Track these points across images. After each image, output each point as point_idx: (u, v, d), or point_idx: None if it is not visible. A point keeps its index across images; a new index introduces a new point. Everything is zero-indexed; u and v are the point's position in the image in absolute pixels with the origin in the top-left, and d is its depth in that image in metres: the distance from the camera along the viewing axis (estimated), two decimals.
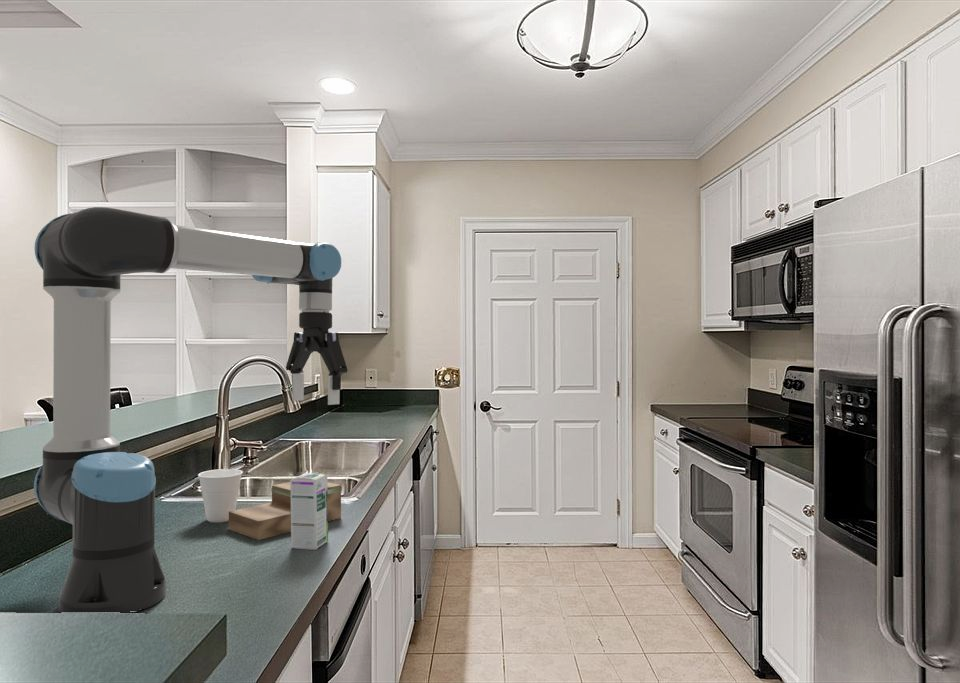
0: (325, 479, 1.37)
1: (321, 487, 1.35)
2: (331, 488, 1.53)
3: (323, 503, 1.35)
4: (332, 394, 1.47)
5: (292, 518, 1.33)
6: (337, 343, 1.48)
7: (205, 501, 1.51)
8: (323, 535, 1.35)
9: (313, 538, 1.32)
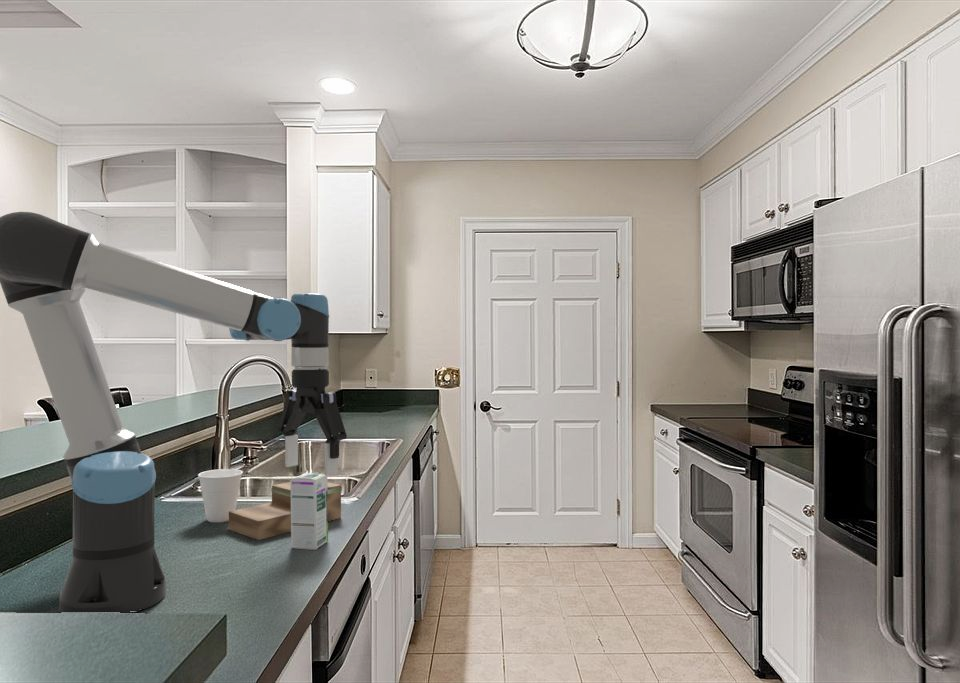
0: (325, 479, 1.37)
1: (321, 487, 1.35)
2: (331, 488, 1.53)
3: (323, 503, 1.35)
4: (330, 463, 1.30)
5: (292, 518, 1.33)
6: (335, 405, 1.31)
7: (205, 501, 1.51)
8: (323, 535, 1.35)
9: (313, 538, 1.32)
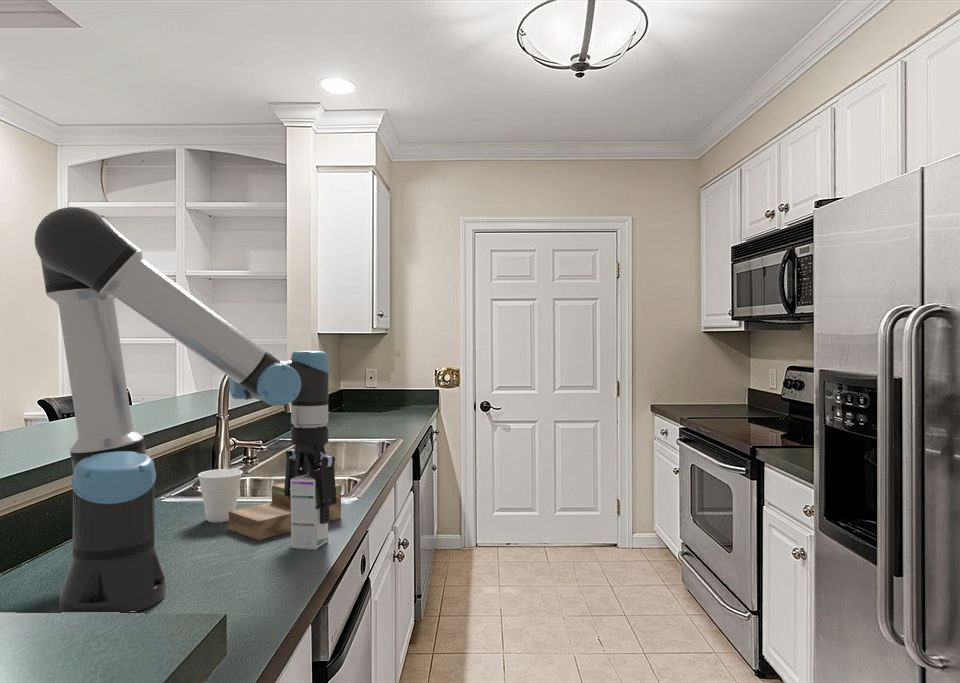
0: None
1: None
2: None
3: None
4: (320, 528, 1.32)
5: (292, 518, 1.33)
6: (332, 469, 1.32)
7: (205, 501, 1.51)
8: None
9: (313, 538, 1.32)
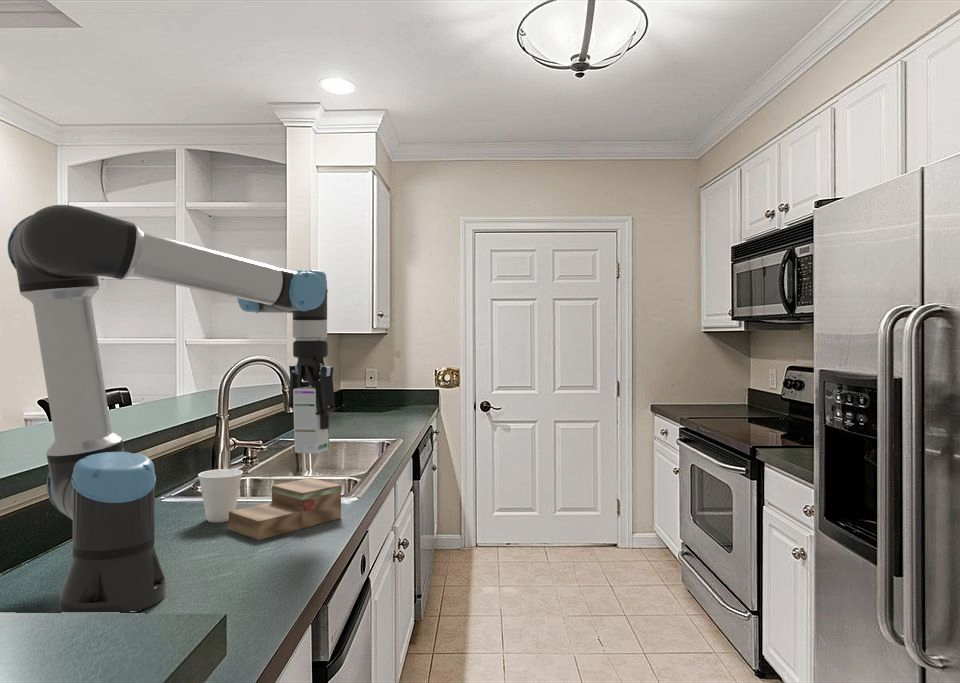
0: None
1: None
2: (331, 488, 1.53)
3: None
4: (320, 433, 1.42)
5: (295, 425, 1.44)
6: (330, 379, 1.42)
7: (205, 501, 1.51)
8: None
9: (314, 443, 1.43)
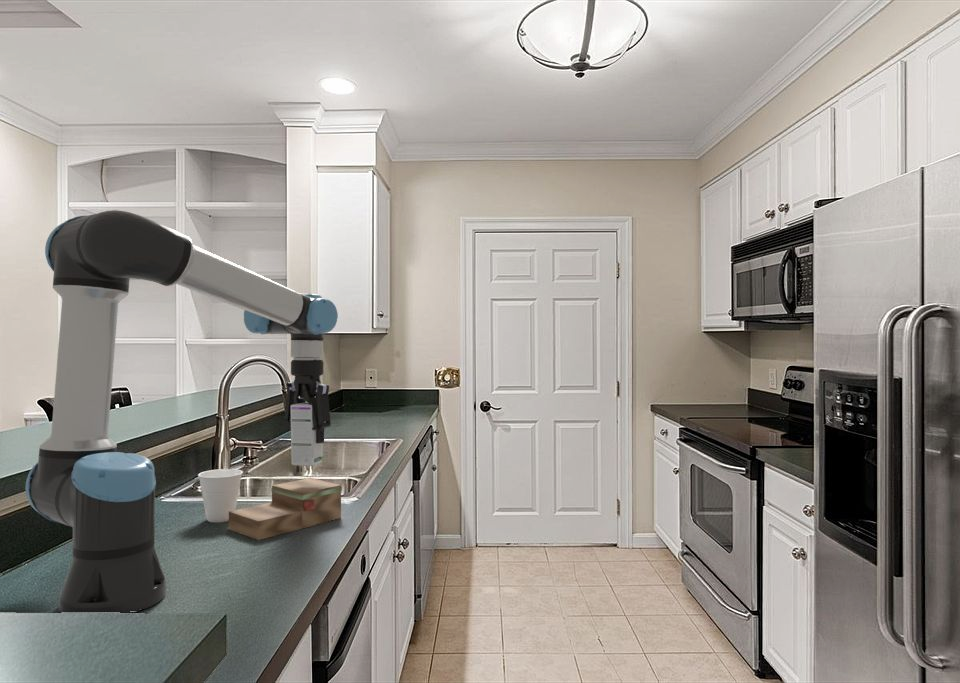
0: None
1: None
2: (331, 488, 1.53)
3: None
4: (316, 447, 1.52)
5: (292, 439, 1.53)
6: (326, 396, 1.51)
7: (205, 501, 1.51)
8: None
9: (310, 456, 1.52)
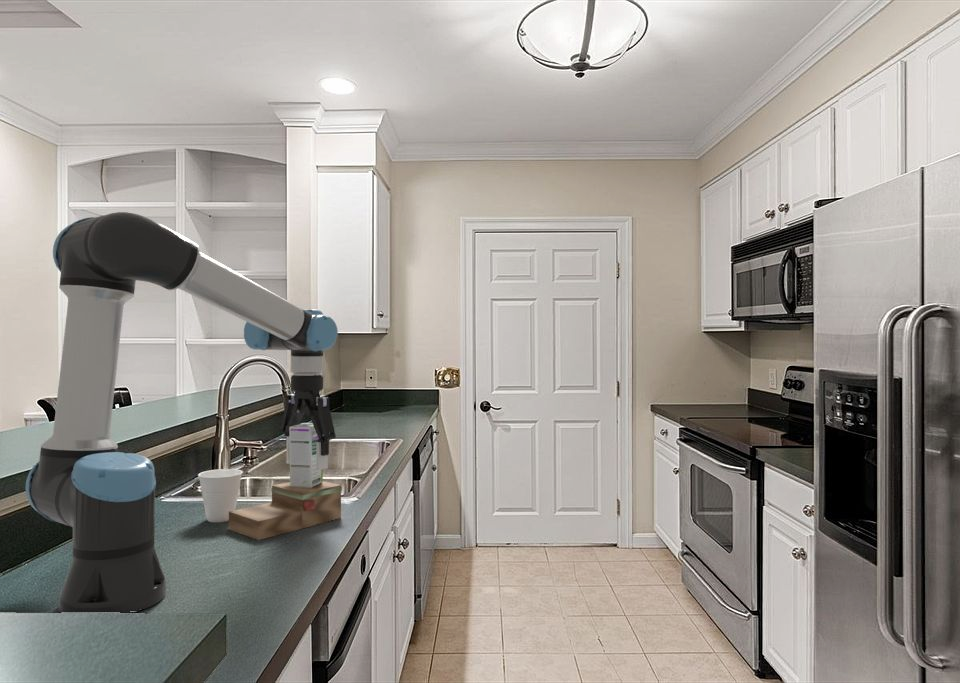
0: None
1: (316, 434, 1.54)
2: (331, 488, 1.53)
3: None
4: (320, 459, 1.50)
5: (291, 460, 1.53)
6: (327, 408, 1.51)
7: (205, 501, 1.51)
8: (318, 476, 1.55)
9: (309, 477, 1.52)
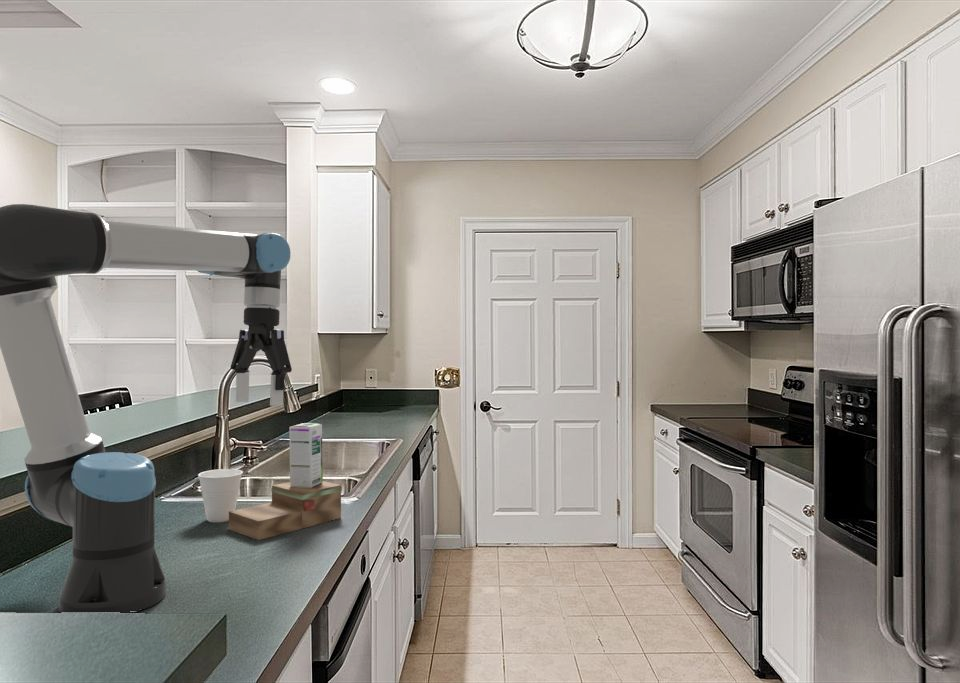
0: (320, 428, 1.56)
1: (316, 434, 1.54)
2: (331, 488, 1.53)
3: (317, 448, 1.55)
4: (275, 395, 1.39)
5: (291, 460, 1.53)
6: (282, 341, 1.40)
7: (205, 501, 1.51)
8: (318, 476, 1.55)
9: (309, 477, 1.52)
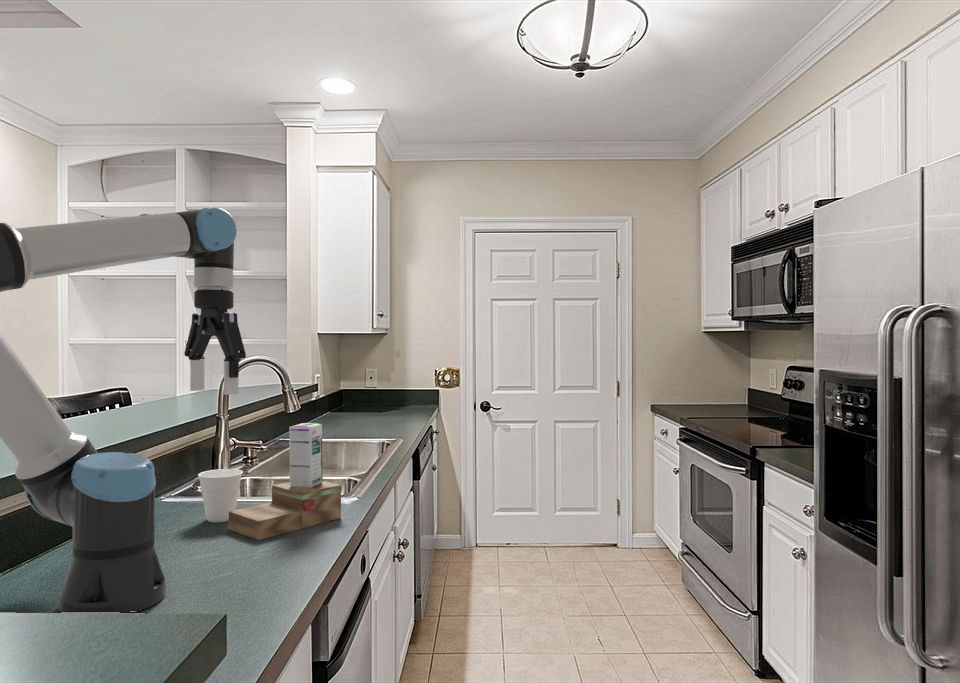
0: (320, 428, 1.56)
1: (316, 434, 1.54)
2: (331, 488, 1.53)
3: (317, 448, 1.55)
4: (229, 383, 1.30)
5: (291, 460, 1.53)
6: (235, 325, 1.31)
7: (205, 501, 1.51)
8: (318, 476, 1.55)
9: (309, 477, 1.52)
